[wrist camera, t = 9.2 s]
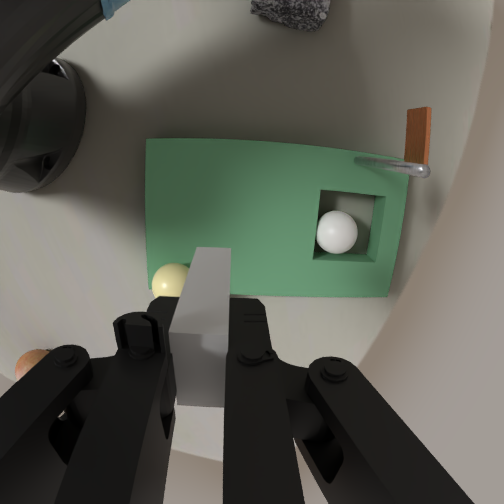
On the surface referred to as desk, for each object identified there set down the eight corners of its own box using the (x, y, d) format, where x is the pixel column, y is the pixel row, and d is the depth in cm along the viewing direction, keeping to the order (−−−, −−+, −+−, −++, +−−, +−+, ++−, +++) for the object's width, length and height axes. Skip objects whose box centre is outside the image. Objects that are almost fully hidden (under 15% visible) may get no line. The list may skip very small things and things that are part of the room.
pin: (353, 164, 26) (418, 176, 15) (357, 118, 24) (423, 105, 14) (361, 165, 26) (429, 178, 15) (365, 119, 25) (434, 108, 14)
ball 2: (322, 246, 31) (307, 254, 28) (324, 207, 31) (309, 210, 27) (359, 252, 29) (349, 260, 26) (363, 211, 28) (353, 214, 25)
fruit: (81, 363, 35) (57, 403, 27) (66, 389, 36) (46, 426, 29) (37, 329, 33) (7, 363, 25) (27, 359, 35) (1, 391, 27)
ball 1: (158, 294, 29) (148, 315, 25) (156, 255, 28) (145, 271, 24) (199, 297, 29) (194, 318, 26) (199, 257, 28) (193, 274, 24)
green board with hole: (154, 278, 31) (148, 289, 29) (153, 139, 27) (146, 138, 24) (378, 287, 33) (387, 297, 30) (398, 159, 28) (410, 160, 26)
